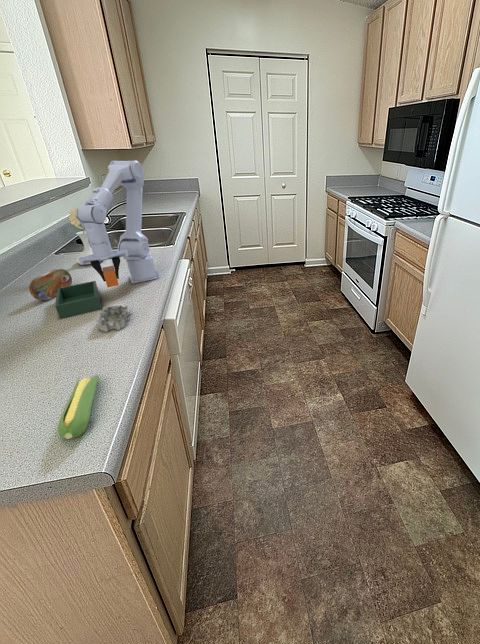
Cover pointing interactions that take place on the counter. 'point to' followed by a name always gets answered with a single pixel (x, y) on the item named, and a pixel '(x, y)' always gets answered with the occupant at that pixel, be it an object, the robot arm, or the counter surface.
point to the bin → (77, 299)
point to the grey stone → (112, 318)
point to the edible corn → (78, 409)
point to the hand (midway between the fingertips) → (111, 279)
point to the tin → (49, 284)
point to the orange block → (110, 276)
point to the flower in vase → (80, 235)
